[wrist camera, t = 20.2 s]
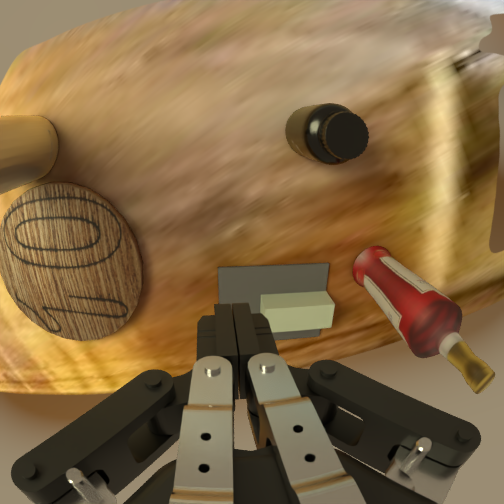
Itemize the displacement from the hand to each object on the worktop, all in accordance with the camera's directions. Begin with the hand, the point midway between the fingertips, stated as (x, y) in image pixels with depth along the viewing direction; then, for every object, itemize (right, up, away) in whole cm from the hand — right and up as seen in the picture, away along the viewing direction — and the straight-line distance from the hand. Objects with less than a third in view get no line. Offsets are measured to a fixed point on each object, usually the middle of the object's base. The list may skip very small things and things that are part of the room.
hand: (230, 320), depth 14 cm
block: (+2, -6, +32) cm, 32 cm away
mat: (+4, -5, +34) cm, 35 cm away
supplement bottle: (+8, +19, +25) cm, 33 cm away
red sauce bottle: (+19, +1, +34) cm, 39 cm away
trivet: (-27, +1, +28) cm, 39 cm away
